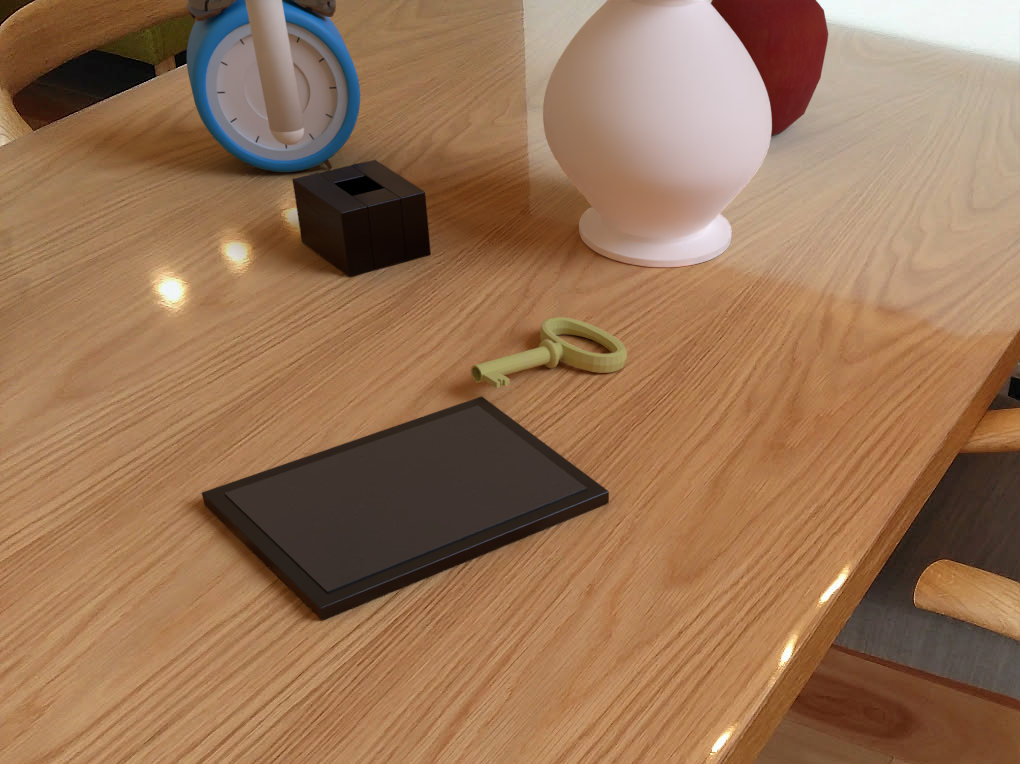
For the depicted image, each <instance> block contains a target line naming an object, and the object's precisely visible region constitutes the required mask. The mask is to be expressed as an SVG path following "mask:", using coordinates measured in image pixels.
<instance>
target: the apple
mask: <svg viewBox="0 0 1020 764" xmlns="http://www.w3.org/2000/svg"><path fill="white" fill-rule="evenodd" d="M710 3H711V5H712V6H713V7H714V8H715V9H716V10H717V12H718V13H719V14H720V15H721V16H722V18H723V19H724V20H725V21H726V22H727V24H728V25H729V26H730V27H731V29H732V30H733V31H734V33H735V34H736V35H737V37H738V38H739V39H740V41H741V42H742V44H743V45H744V47H745V48H746V50H747V52H748V53H749V55H750V57H751V58H752V60H753V62H754V64H755V66H756V68H757V69H758V71H759V73H760V76H761V78H762V80H763V82H764V85H765V88H766V90H767V93H768V97H769V101H770V107H771V116H772V131H771V136H774V135H779V134H781V133H783V132H784V131H785V130H786V129H788V128H789V127H790V126H792V125H793V124H794V123H795V122H797V120H799V119H800V118H802V117H803V116H804V115H805V113H806V111H807V109H808V106H809V104H810V102H811V100H812V98H813V95H814V94H815V91H816V89H817V86H818V84H819V82H820V81H821V77H822V72H823V67H824V61H825V56H826V52H827V46H828V42H829V41H828V40H829V30H828V25H827V19H826V15H825V10H824V8H823V7H822V5H821V4H820V3H819V2H818V1H817V0H711V1H710Z"/></svg>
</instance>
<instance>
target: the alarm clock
mask: <svg viewBox="0 0 1020 764" xmlns="http://www.w3.org/2000/svg"><path fill="white" fill-rule="evenodd" d="M185 2H186V8H187V11H188V13H189V14H190V16H191V18H192V19H193V20H194V21H195V22H194V23H193V26H192V28H191V30H190V33H189V38H188V39H187V40H188V41H187V46H186V68H187V74H188V79H189V83H190V88H191V92H192V97H193V102H194V105H195V108H196V111H197V113H198V115H199V118H200V119H201V122H202V123H203V126H204V127H205V128H206V131H208V132H209V134H210V135H211V137H213V139H214V140H215V142H217V143H218V144H219V145H220V146H221V147H222V149H224V150H225V151H227V153H229V154H230V155H232V156H233V157H234V158H236V159H238V160H239V161H241V162H243V163H245V164H246V170H245V174H246V175H247V176H249V175H250V173H251V172H252V170H253V169H254V168H257V169H260V170H264V171H269V172H274V173H294V172H301V171H305V170H309V169H313V168H315V167H317V166H319V165H321V164H325V166H326V167H327V168H328V169H329V170H333V166H332V164H331V163H330V160H329V159H331V158H332V157H333V156H335V155H336V154H337V153H338V152H339V151H340V150H341V149H342V148H343V147H344V145H345V144H346V143H347V141H348V140H349V138H350V136H351V135H352V133H353V132H354V129H355V126H356V124H357V121H358V118H359V113H360V105H361V87H360V86H361V85H360V80H359V77H358V73H357V69H356V66H355V64H354V61H353V59H352V57H351V55H350V52H349V49H348V48H347V45H346V43H345V41H344V39H343V36H342V34H341V33H340V31H339V29H338V28H337V26H336V24H335V23H334V22H333V20H332V19H331V18H332V17H334V15H335V13H336V8H337V1H336V0H282V4H283V10H284V15H285V21H286V27H287V32H288V38H289V44H290V49H291V55H292V60H293V66H294V72H295V77H296V83H297V89H298V94H299V100H300V106H301V111H302V117H303V122H304V135H303V137H302V139H301V140H300V141H299V142H298V143H296V144H293V145H285V144H282V143H280V142H279V141H277V140H276V139H275V138H274V136H273V135H272V133H271V131H270V126H269V121H268V116H267V111H266V106H265V100H264V95H263V90H262V85H261V80H260V74H259V69H258V64H257V59H256V54H255V48H254V43H253V38H252V33H251V28H250V22H249V17H248V12H247V7H246V2H245V0H185Z"/></svg>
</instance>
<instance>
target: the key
mask: <svg viewBox="0 0 1020 764" xmlns="http://www.w3.org/2000/svg"><path fill="white" fill-rule="evenodd" d="M540 326H541V327H540V330H539V339H540V342H539V343H538V347H535V348H531V349H528V350H524V351H520V352H517V353H513V354H510V355H509V354H508V355H505V356H502V357H499V358H498V357H497V358H496V359H491V360H488V361H484V362H481V363H477V364H474V365H472V366H471V368H470V375H471V377H472V379H473V381H474V382H476V383H477V384H480V383H484V382H486V383H488V384H489V385H490V386H492V387H494V388H495V389H499V388H501V387H505V386H506V387H507V386H510V385H511V384H510V383H511V379H510V378H509V377H507V376H508V375H511V374H515V373H518V372H523V371H525V370H528V369H532V368H537V367H540V366H543V365H544V366H545V367H546V368H549V369H553V368H555V367H557V365H558V364H559V362H560V361H562V362H564V363H565V364H568V365H570V366H572V367H574V368H578V369H580V370H584V371H587V372H592V373H600V374H601V373H603V374H604V373H605V374H607V373H614V372H617V371H620V370H621V369H622V368H623V367H625V364H626V361H627V359H628V353H627V352H628V351H627V348H626V346H625V344H624V343H623V342H622V341H621V339H619V338H618V337H616V336H614V335H613V334H611V333H609V332H607V331H606V330H604V329H602V328H599V327H597V326H595V325H594V324H591V323H589V322H585V321H582V320H579V319H576V318H571V317H567V316H566V317H565V316H553V317H549V318H546V319H545V320H543V321H542V323H541V325H540ZM558 335H572V336H576V337H577V336H578V337H583V338H586V339H589V340H592V341H594V342H596V343H598V344H600V345H601V346H604V347H605V348H606V349H607V350H608V351H609V353H597V352H592V351H589V350H586V349H582V348H580V347H578V346H575V345H573V344H571V343H570V342H567V341H565V339H562V338H561V337H560V336H558Z"/></svg>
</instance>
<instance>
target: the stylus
mask: <svg viewBox="0 0 1020 764" xmlns="http://www.w3.org/2000/svg"><path fill="white" fill-rule="evenodd" d="M245 2H246V7H247V12H248V17H249V22H250V28H251V33H252V38H253V43H254V48H255V54H256V59H257V64H258V69H259V74H260V80H261V85H262V90H263V95H264V100H265V106H266V111H267V116H268V121H269V126H270V131H271V133H272V135H273V136H274V138H275V139H276V140H277V141H279V142H280V143H282V144H285V145H293V144H296V143H298V142H299V141H300V140H301V139H302V137H303V135H304V122H303V117H302V111H301V106H300V100H299V94H298V89H297V83H296V77H295V72H294V66H293V60H292V55H291V49H290V44H289V38H288V32H287V27H286V21H285V15H284V10H283V4H282V0H245Z"/></svg>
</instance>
